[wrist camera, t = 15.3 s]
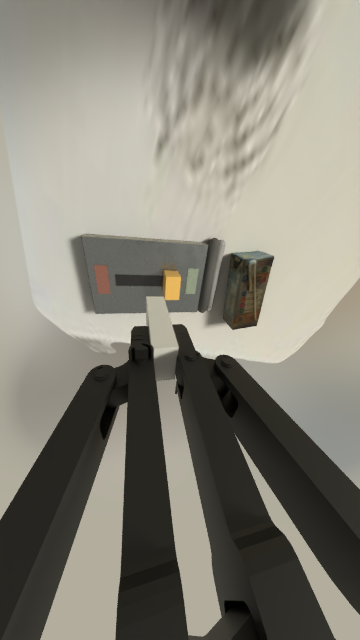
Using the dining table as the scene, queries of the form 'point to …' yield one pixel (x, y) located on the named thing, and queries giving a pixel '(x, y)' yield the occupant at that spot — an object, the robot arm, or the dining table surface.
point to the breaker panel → (141, 272)
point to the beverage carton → (246, 288)
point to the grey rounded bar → (211, 274)
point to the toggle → (171, 285)
